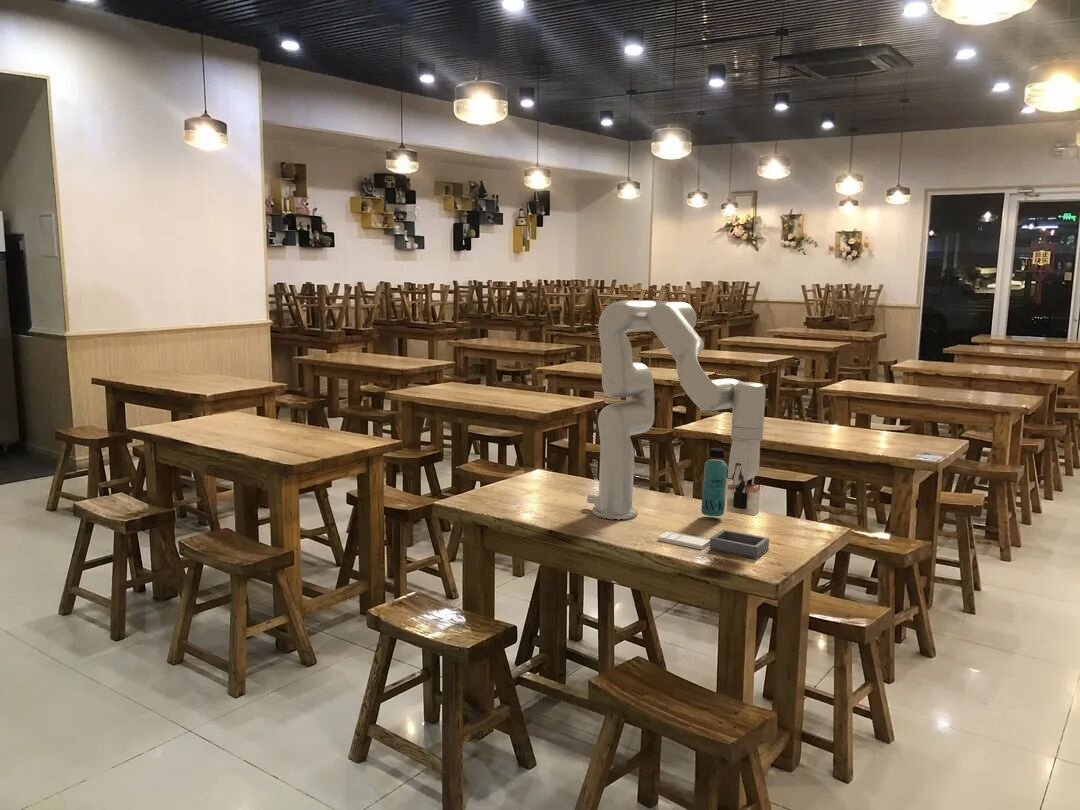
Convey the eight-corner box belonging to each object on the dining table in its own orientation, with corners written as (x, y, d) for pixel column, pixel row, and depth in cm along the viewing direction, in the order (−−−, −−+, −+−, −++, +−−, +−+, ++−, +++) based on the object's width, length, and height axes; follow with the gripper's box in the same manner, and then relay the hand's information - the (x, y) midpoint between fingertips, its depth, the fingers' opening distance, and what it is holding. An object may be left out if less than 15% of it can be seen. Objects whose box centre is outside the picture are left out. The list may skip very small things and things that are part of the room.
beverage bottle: (696, 516, 241) (700, 446, 238) (716, 514, 243) (720, 445, 240) (708, 522, 235) (712, 451, 232) (729, 520, 237) (733, 450, 234)
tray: (709, 549, 212) (710, 538, 212) (722, 540, 220) (723, 529, 219) (756, 559, 206) (757, 547, 205) (768, 549, 213) (769, 538, 213)
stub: (726, 511, 211) (727, 484, 210) (731, 508, 214) (732, 481, 213) (754, 516, 208) (755, 488, 207) (758, 513, 211) (760, 485, 210)
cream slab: (657, 540, 218) (658, 536, 218) (667, 534, 223) (667, 530, 223) (702, 549, 212) (702, 545, 212) (711, 543, 217) (711, 539, 217)
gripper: (743, 426, 217) (739, 497, 220) (720, 436, 203) (716, 511, 206) (772, 430, 213) (768, 501, 216) (750, 440, 199) (746, 516, 202)
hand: (742, 505), depth 211 cm, fingers closed on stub, 3 cm apart
